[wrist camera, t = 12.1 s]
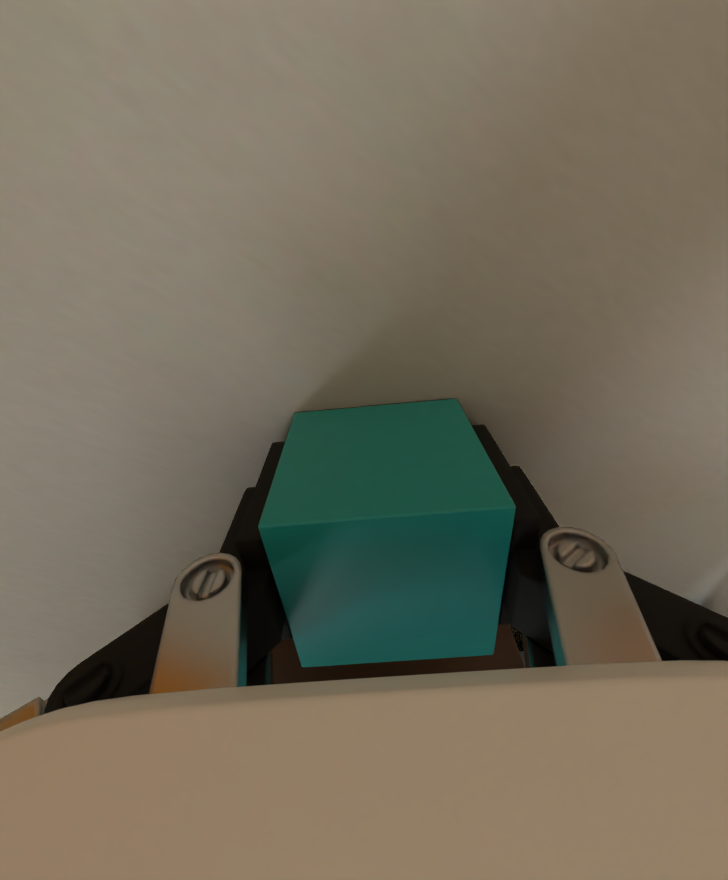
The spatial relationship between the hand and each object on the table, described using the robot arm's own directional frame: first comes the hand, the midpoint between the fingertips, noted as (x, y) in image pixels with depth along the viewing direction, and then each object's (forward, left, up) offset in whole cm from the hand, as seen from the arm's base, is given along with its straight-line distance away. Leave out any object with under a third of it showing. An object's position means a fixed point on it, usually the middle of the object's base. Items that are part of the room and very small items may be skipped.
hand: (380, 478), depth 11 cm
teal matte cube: (0, 0, 0) cm, 0 cm away
